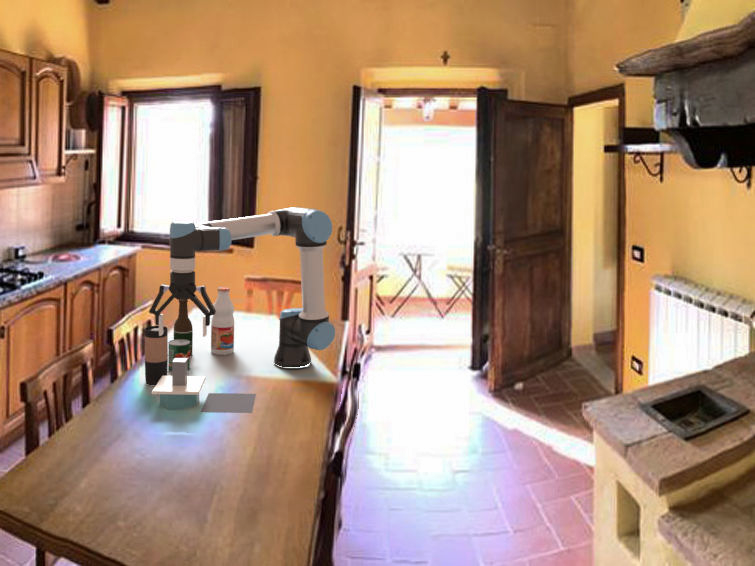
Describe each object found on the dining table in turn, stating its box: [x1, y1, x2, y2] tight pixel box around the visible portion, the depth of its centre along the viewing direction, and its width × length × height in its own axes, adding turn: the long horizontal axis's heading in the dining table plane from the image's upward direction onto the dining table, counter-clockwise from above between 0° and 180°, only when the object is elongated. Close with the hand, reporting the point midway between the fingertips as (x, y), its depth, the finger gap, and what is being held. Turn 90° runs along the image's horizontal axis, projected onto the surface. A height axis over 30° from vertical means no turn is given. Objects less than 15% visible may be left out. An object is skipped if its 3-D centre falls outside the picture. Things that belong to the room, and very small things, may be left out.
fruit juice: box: [210, 286, 235, 356], centre depth 238 cm, size 9×9×28 cm
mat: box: [200, 392, 257, 414], centre depth 187 cm, size 16×16×1 cm
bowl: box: [158, 393, 200, 410], centre depth 184 cm, size 12×12×6 cm
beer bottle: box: [173, 299, 194, 358], centre depth 230 cm, size 8×8×24 cm
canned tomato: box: [167, 339, 191, 373], centre depth 215 cm, size 8×8×11 cm
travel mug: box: [144, 325, 169, 387], centre depth 200 cm, size 8×8×20 cm
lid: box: [151, 358, 206, 395], centre depth 183 cm, size 14×14×9 cm
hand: (183, 335), depth 182 cm, fingers open, 13 cm apart
